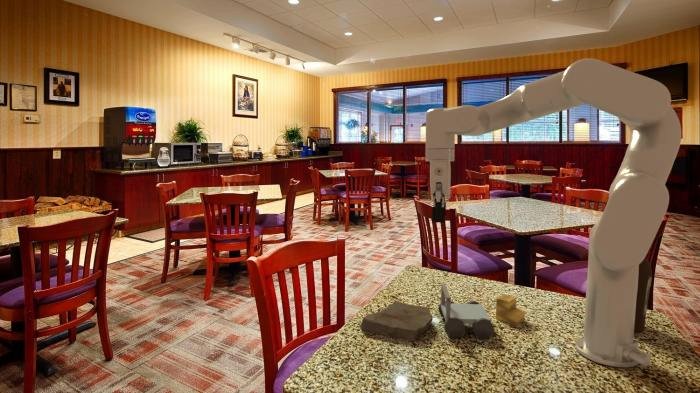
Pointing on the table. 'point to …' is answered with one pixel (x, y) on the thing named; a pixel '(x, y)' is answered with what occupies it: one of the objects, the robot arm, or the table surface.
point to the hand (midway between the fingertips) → (439, 219)
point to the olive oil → (642, 295)
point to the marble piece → (398, 321)
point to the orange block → (509, 310)
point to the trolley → (464, 317)
